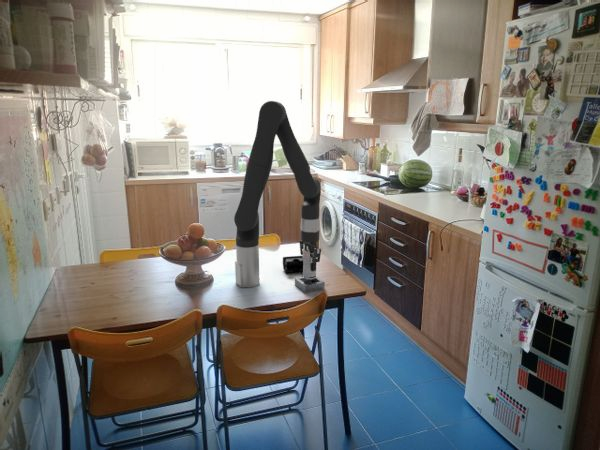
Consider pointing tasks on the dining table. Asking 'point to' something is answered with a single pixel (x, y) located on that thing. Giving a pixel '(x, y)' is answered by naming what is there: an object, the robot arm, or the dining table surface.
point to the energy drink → (308, 266)
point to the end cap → (293, 264)
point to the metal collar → (305, 286)
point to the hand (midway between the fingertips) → (309, 268)
